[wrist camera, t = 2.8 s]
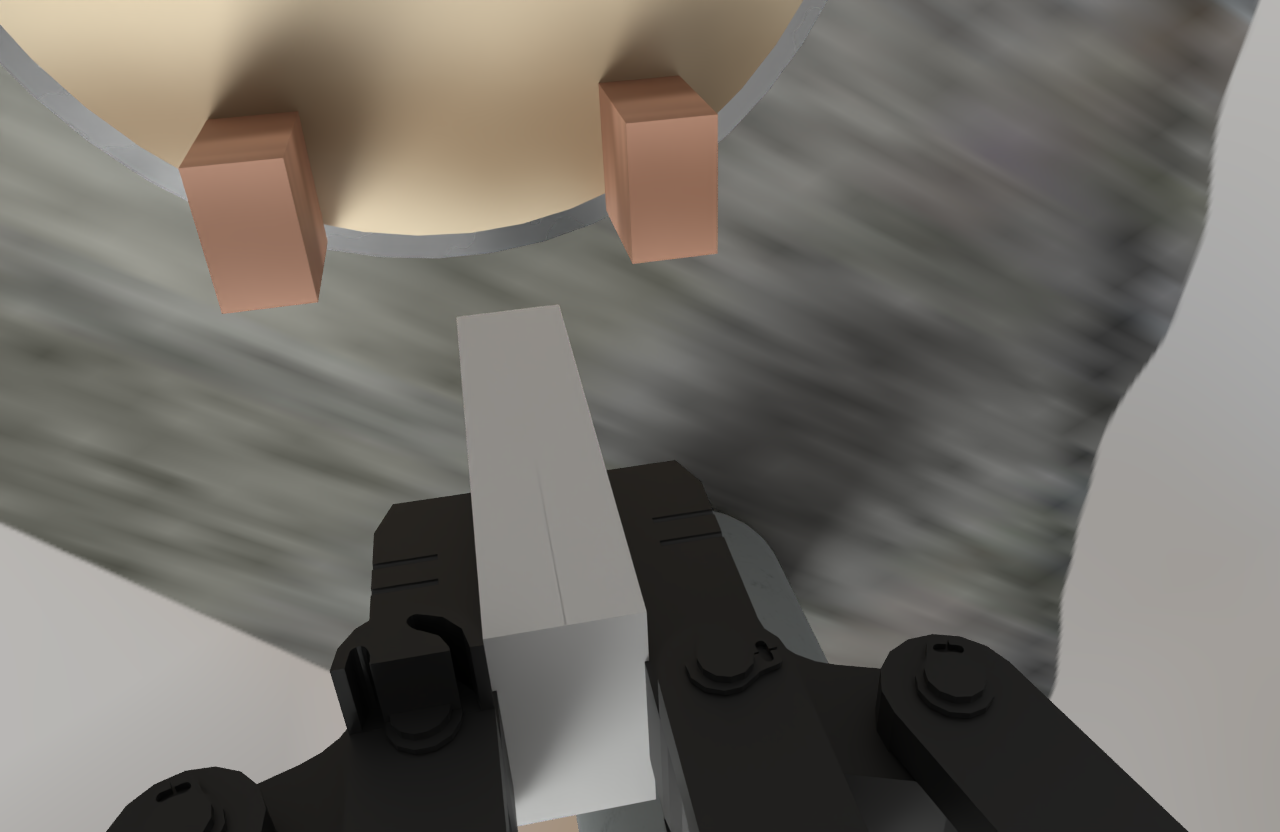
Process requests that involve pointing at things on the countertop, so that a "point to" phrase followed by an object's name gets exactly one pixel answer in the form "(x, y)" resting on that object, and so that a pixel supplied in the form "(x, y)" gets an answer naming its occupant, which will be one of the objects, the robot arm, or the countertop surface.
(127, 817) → the robot arm
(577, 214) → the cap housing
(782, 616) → the water bottle
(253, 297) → the ring nut
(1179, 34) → the countertop surface
